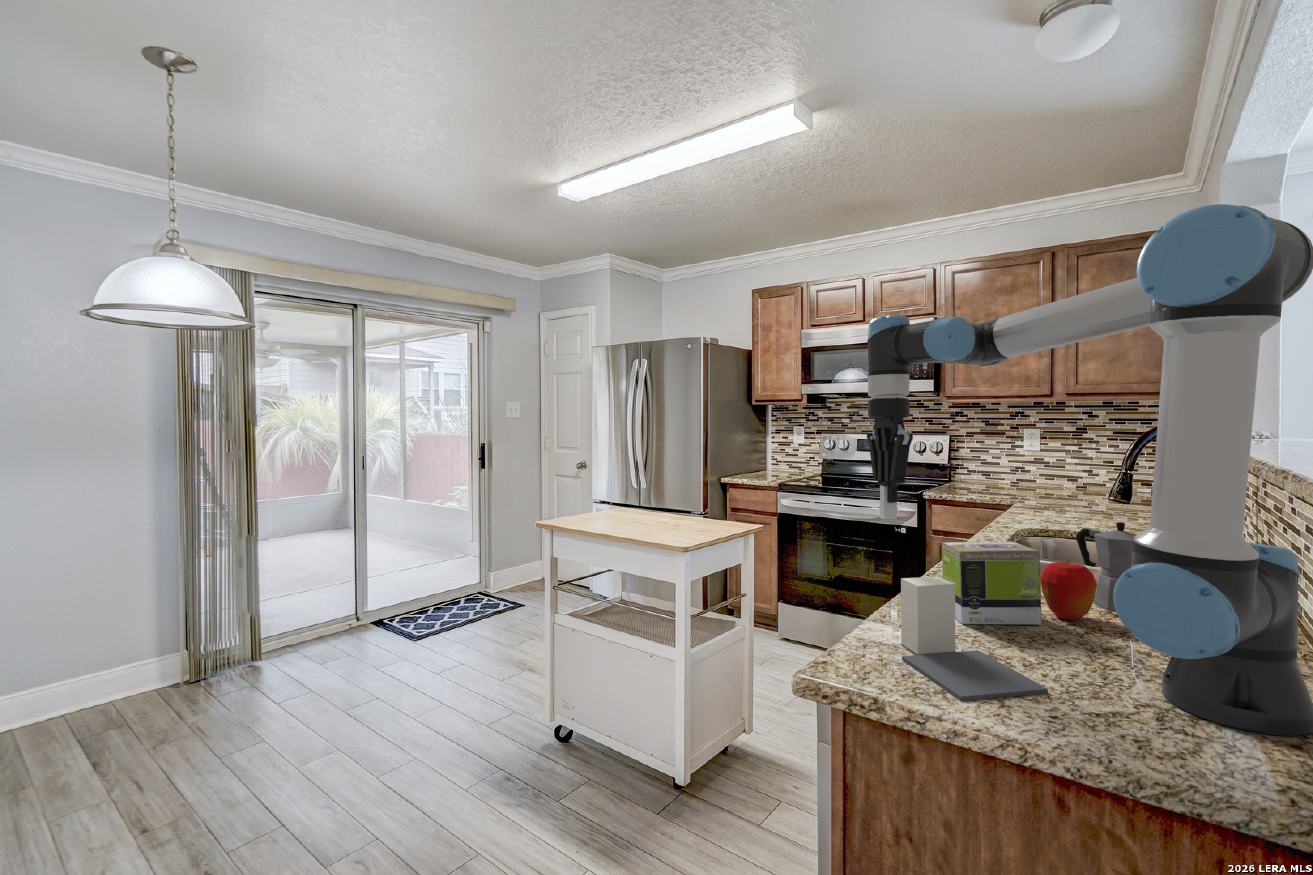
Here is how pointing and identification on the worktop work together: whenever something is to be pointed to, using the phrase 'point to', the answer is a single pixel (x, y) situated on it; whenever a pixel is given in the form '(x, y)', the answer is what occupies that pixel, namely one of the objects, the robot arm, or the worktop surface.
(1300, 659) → the worktop surface
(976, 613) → the tea box
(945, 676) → the mat
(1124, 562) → the coffeepot
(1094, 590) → the apple
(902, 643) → the cream block
